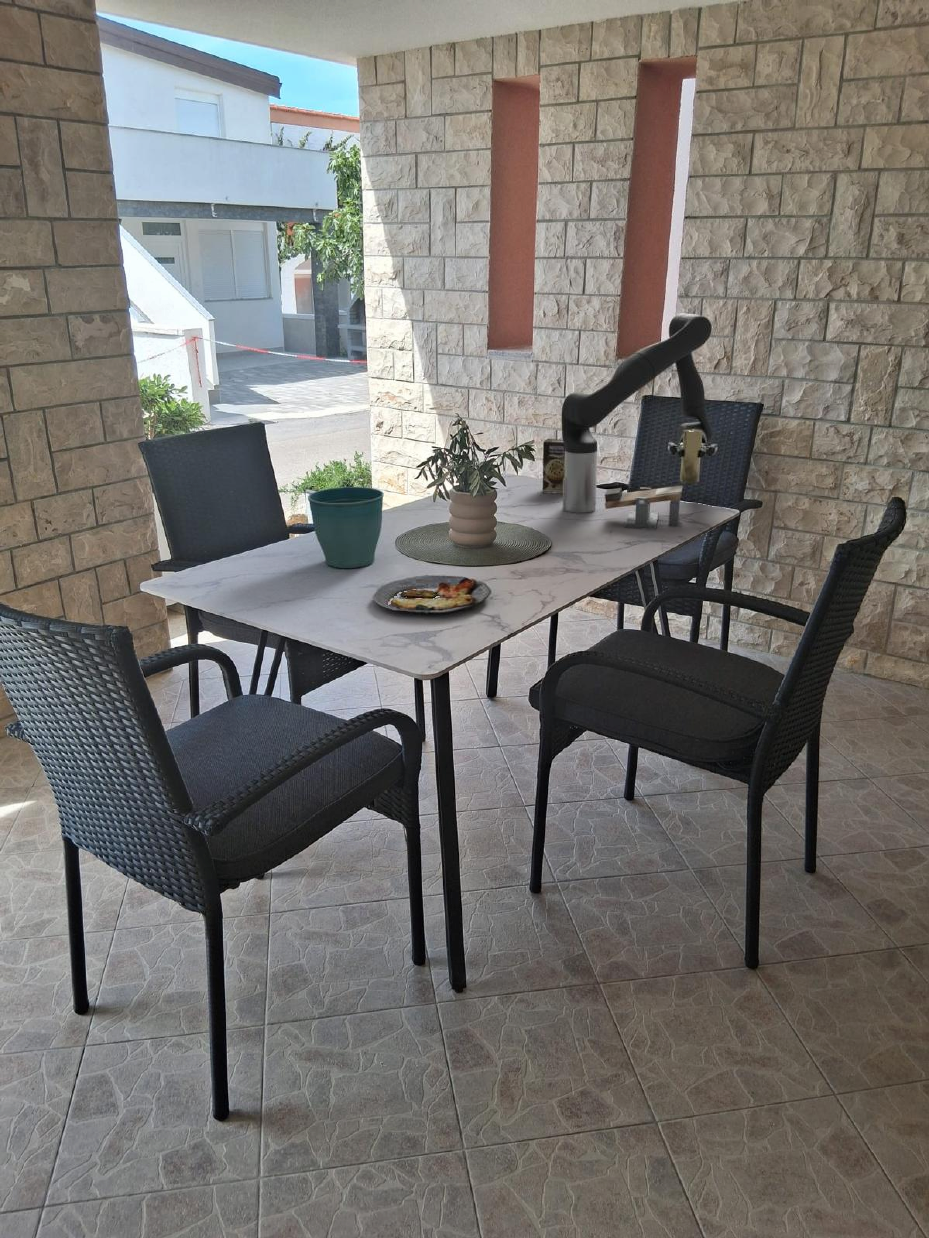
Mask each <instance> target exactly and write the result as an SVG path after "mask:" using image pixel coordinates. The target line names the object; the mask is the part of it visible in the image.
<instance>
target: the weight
mask: <svg viewBox="0 0 929 1238" xmlns="http://www.w3.org/2000/svg"><path fill="white" fill-rule="evenodd" d="M701 444H702V430H695V429H688V430H684V435H683V451H682V457H681V466H680V478H679V482H681V483H683V484H684V483H685V484H697V483H699V481H700V480H699V479H700V466H701V458H700V453H701Z"/></svg>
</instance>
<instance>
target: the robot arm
mask: <svg viewBox="0 0 929 1238" xmlns="http://www.w3.org/2000/svg"><path fill="white" fill-rule="evenodd" d="M712 328H713V327H712V323H711V320H710V319H709V318H708V317H706V316H704V315H701V314H695V313H678V314H676V315H674V317H672V319H671V320H670V323H669V326H668V338H666V339H664V340H660V341H658V342H656V343H653V344H650V345H648V346H645V347H643V348H641V349H639V350H637V351H635V352H634V353H632V354H631V355H630V356H628V357H627V358H625V359H624V360H623V361H622V362H621V363H620V364H619V365H618V367H617V368H616V369H615V371H614V373H613V375H612V377H611V379H610V380H609V381H608V382H607V383H606V384H605V385H604V386H602V387H601V388H599V389H598V390H596V391H594V392H592V393H584V392H573V393H570V394H568V395H567V396H566V398H565V399H564V401H563V404H562V406H561V439H563V442H564V444H565V477H564V478H563V494H562V511H563V512H569V513H579V514H580V513H582V514H583V513H591V512H595V510H596V508H597V506H596V505H597V476H598V475H597V473H598V470H597V469H598V467H597V466H598V441H597V440H596V439H595V437H594V436H593V435H592V433H591V430H590V429H592V428H594V427H596V426H597V425H598V424H600V423H601V422H602V421H603V420H605V419H606V417H608V416H609V415H610V414H611V413H612V412H613V411H614V410H615V409H616V408H617V407H618V406H619V405H621V404H622V403H623V402H625V401H626V400H627V399H628V398H630V397H631V396H633V395H634V394H635V393H636V392H638V391H639V390H640V389H642V388H644V387H645V386H646V385H648V384H649V383H650V382H652V381H653V380H654V379H656V378H657V377H658V376H659V375H661V374H662V373H663V372H665V371H666V370H668V368H670V367H671V366H673V365H674V364H675V368H676V372H677V378H678V383H679V391H680V406H681V408H680V409H681V414H682V415H683V416H684V417H688V418H695V419H697V420H698V421H695V422H686V423H685V422H684V423H682V424H680V425H679V427H678V428H677V432H676V434H677V440H678V443H677V444H676V443H675V442H672V441H668V446H667V451H668V453H669V454H671V455H672V456H675V455H677V457H678V456H679V458H682V451H683V435H684V430H688V429H695V430H702V444H701V453H700V459H703V458H704V457H705V458H706V455H707V456H708V457H712V456H714V455H716V454H717V450H718V444H717V443H712V444H710V443H711V442H712V440H713V437H714V431H713V428H712V425H711V422H710V420H709V417H708V414H707V410H706V396H705V387H704V383H703V380H702V378H701V375H700V373H699V371H698V368H697V366H696V365H695V362H694V358H693V354H692V353H693V352H694V351H697V350H698V349H699V348H701V347H702V346H704V345H705V343H706V342H707V341H708V340H709V339H710V337H711V334H712V330H713V329H712ZM709 444H710V445H709Z"/></svg>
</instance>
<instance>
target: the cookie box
mask: <svg viewBox="0 0 929 1238" xmlns="http://www.w3.org/2000/svg"><path fill="white" fill-rule="evenodd" d="M542 443H543V446H542V448H543V450H542V454H543V455H542V493H543V492H557V493H556V494H562V493H563V478H564V477H565V444H564V442H563V438H558V439H557V438H547V439H545V440H544V441H543V442H542Z"/></svg>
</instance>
